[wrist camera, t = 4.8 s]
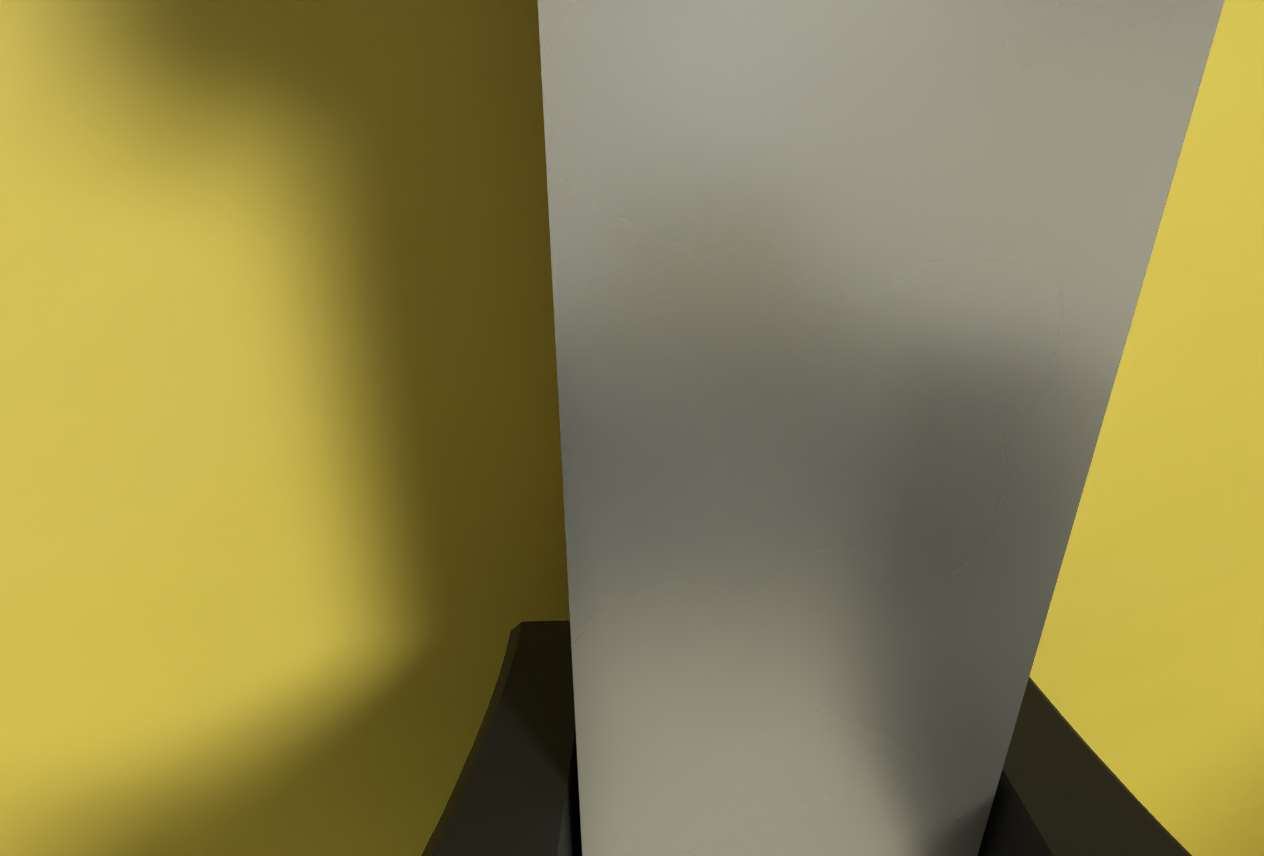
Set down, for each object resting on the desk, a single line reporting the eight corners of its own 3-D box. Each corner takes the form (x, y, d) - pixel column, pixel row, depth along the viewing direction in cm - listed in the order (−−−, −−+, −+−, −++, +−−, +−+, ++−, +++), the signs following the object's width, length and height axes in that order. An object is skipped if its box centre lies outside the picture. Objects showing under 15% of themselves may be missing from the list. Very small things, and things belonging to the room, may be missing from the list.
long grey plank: (1068, -464, 7) (1379, -543, 4) (836, 885, 15) (892, 1152, 12) (539, -463, 7) (506, -543, 4) (595, 894, 15) (598, 1164, 12)
